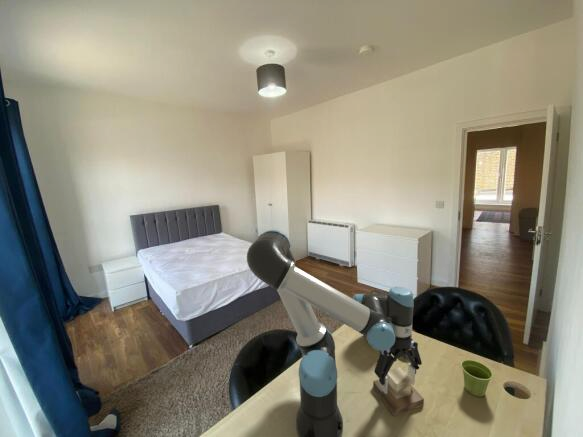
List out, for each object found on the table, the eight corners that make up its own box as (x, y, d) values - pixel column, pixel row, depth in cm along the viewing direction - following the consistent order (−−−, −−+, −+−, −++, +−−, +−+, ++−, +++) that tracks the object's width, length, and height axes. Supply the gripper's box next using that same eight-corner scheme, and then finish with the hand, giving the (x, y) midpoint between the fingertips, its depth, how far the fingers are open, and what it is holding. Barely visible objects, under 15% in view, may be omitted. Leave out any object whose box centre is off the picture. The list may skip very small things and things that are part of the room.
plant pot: (463, 397, 89) (465, 376, 88) (456, 376, 98) (457, 357, 96) (494, 404, 86) (497, 382, 84) (484, 382, 95) (487, 362, 93)
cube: (396, 399, 87) (396, 384, 86) (385, 385, 92) (385, 371, 91) (410, 394, 88) (411, 379, 87) (398, 381, 94) (399, 367, 93)
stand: (394, 415, 84) (394, 409, 83) (373, 386, 95) (373, 381, 94) (423, 404, 87) (423, 398, 86) (399, 378, 98) (399, 372, 98)
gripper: (377, 346, 79) (375, 404, 83) (435, 330, 86) (432, 385, 90) (364, 332, 86) (363, 386, 91) (419, 318, 93) (416, 370, 97)
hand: (397, 386), depth 90 cm, fingers open, 11 cm apart
